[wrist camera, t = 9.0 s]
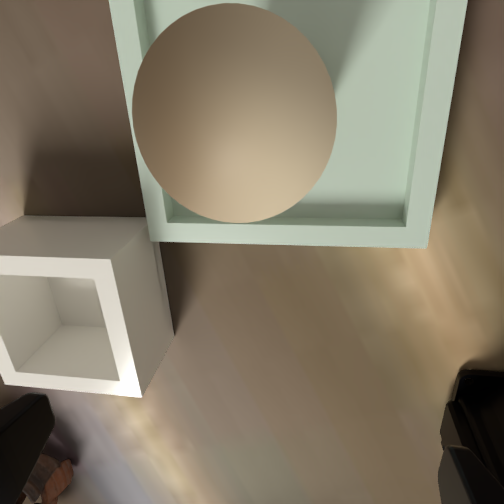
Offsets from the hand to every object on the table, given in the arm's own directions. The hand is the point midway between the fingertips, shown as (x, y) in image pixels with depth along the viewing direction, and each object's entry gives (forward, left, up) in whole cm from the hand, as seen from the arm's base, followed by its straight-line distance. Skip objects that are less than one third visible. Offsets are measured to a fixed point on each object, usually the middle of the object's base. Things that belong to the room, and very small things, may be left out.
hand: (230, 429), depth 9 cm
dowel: (0, -6, -12) cm, 13 cm away
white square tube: (+11, +4, -13) cm, 17 cm away
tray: (0, -6, -13) cm, 14 cm away
